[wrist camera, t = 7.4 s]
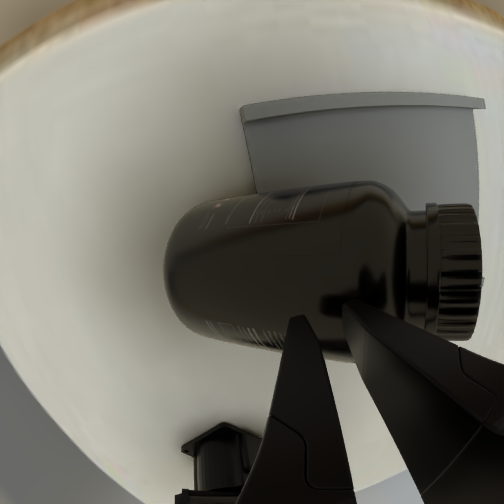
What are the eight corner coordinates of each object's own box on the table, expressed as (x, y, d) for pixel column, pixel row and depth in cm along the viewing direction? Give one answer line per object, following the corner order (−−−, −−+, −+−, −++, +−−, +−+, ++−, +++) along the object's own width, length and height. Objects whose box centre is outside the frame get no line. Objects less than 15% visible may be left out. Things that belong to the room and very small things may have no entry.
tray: (286, 343, 20) (292, 359, 19) (239, 110, 15) (242, 105, 13) (470, 277, 21) (482, 285, 20) (468, 99, 16) (484, 98, 14)
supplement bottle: (260, 290, 19) (460, 301, 12) (190, 361, 14) (456, 415, 7) (231, 184, 16) (462, 161, 9) (134, 231, 11) (500, 212, 4)
